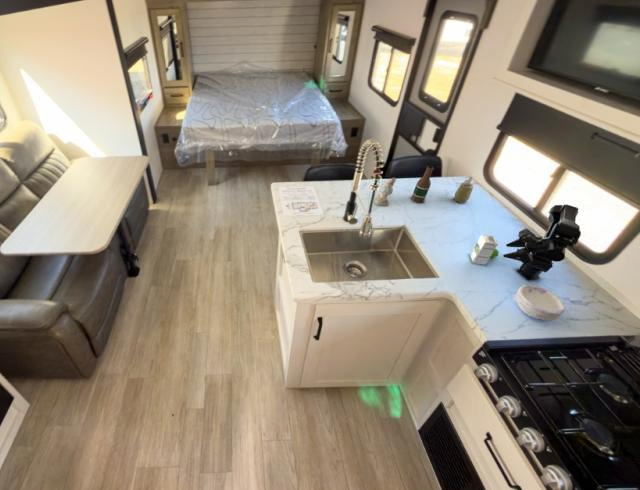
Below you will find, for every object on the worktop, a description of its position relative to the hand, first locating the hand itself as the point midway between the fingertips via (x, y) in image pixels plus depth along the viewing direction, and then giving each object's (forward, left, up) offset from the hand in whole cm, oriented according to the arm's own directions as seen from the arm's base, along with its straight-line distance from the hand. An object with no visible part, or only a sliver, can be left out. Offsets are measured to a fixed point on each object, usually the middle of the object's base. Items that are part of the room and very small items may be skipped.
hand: (504, 250), depth 150 cm
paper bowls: (-24, +4, -12) cm, 27 cm away
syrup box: (+6, +4, -12) cm, 14 cm away
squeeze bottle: (+53, -25, -12) cm, 60 cm away
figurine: (+61, +25, -12) cm, 67 cm away
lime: (+7, -4, -12) cm, 14 cm away
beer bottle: (+59, +1, -12) cm, 60 cm away
